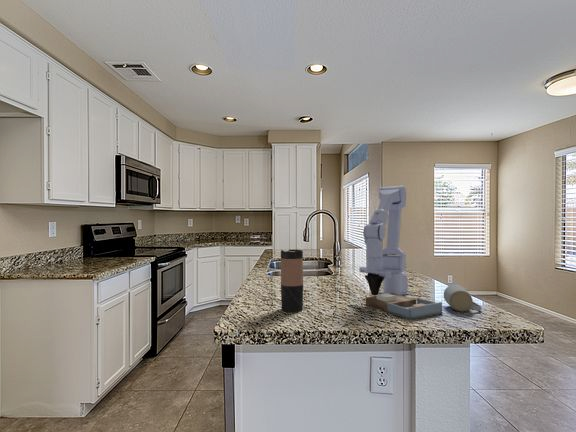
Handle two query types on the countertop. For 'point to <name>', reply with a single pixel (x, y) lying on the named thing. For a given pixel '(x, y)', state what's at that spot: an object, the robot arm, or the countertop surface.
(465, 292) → the ceramic mug
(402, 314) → the tray
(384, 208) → the robot arm
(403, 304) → the walnut board
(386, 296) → the cream tile
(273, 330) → the countertop surface
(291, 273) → the travel mug
